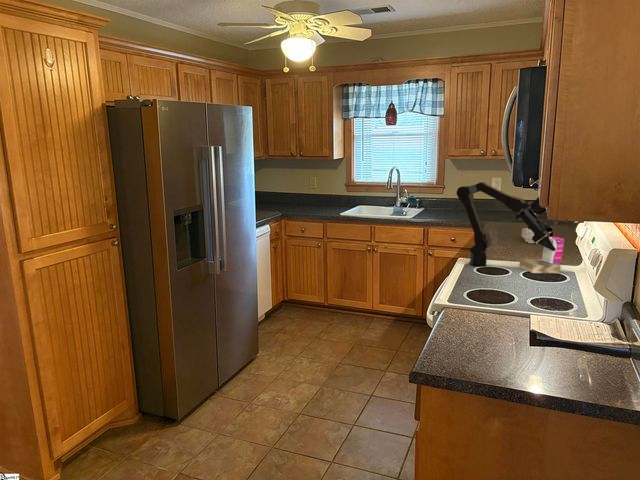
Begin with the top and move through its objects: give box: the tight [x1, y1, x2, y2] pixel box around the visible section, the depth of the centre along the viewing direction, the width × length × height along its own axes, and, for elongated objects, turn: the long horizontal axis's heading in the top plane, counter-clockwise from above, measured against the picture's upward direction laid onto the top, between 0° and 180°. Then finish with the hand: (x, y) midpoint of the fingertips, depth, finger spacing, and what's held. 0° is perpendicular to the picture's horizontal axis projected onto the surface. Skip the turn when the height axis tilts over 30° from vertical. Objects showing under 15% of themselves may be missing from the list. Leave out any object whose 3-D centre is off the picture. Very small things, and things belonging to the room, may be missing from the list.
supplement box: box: [541, 236, 565, 265], centre depth 213 cm, size 6×6×12 cm
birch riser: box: [519, 258, 562, 274], centre depth 226 cm, size 13×13×4 cm
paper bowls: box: [520, 227, 539, 245], centre depth 293 cm, size 15×15×8 cm
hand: (556, 248), depth 213 cm, fingers closed on supplement box, 8 cm apart
